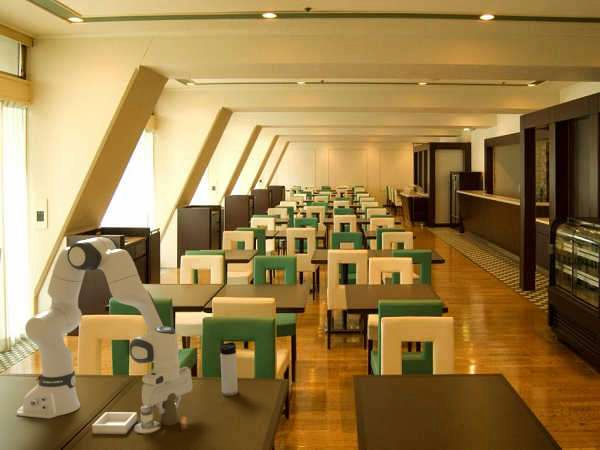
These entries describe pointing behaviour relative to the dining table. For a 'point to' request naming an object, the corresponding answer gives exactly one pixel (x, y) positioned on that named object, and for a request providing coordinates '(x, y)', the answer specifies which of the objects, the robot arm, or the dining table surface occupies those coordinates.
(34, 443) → the dining table surface
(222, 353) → the travel mug
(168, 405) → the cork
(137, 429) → the crank stand
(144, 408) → the crank
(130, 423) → the tray
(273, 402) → the dining table surface
